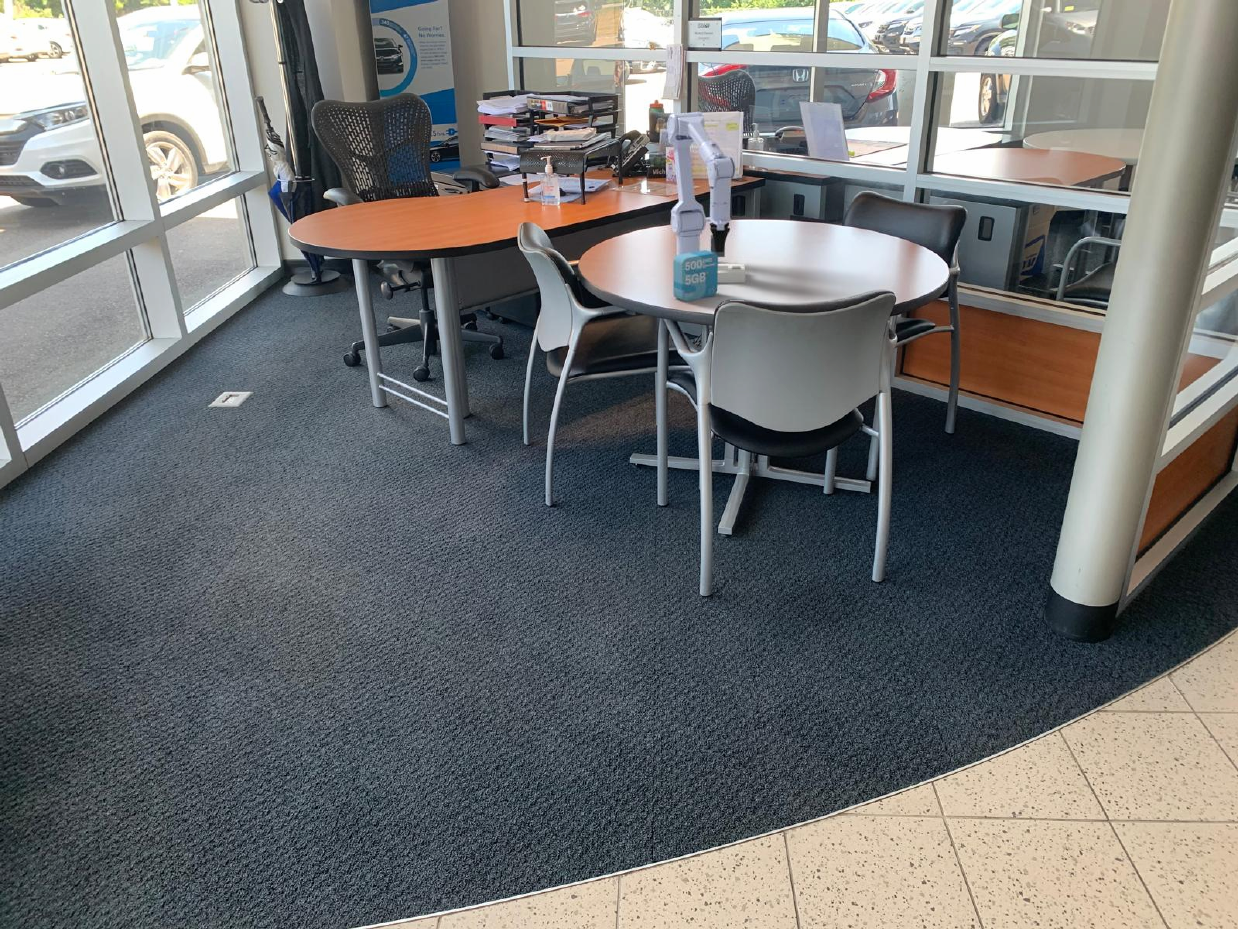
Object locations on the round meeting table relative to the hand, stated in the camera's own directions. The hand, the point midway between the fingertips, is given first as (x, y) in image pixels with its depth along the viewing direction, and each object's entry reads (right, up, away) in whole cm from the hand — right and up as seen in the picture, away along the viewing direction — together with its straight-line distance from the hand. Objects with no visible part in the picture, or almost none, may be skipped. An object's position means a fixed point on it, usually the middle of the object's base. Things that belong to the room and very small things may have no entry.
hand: (719, 249), depth 265 cm
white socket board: (-1, -7, +4) cm, 9 cm away
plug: (0, -1, +1) cm, 2 cm away
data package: (-8, -16, -13) cm, 22 cm away
